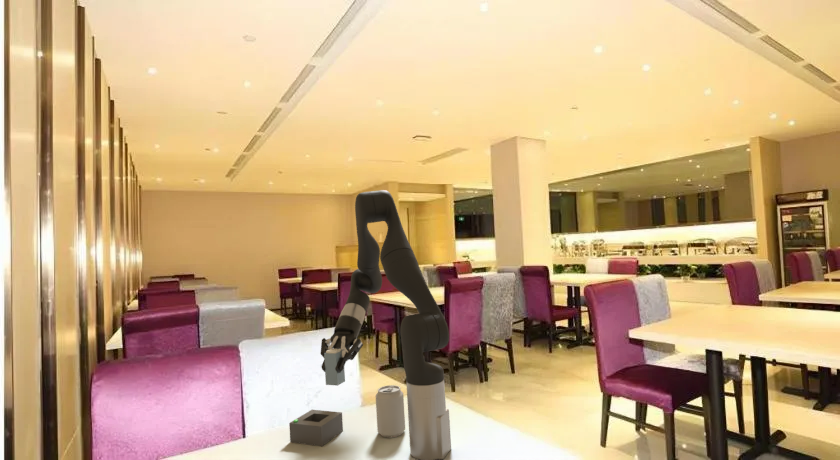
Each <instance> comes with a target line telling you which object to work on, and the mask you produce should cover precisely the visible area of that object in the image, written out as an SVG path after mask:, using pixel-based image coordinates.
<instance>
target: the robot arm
mask: <svg viewBox="0 0 840 460" xmlns="http://www.w3.org/2000/svg"><path fill="white" fill-rule="evenodd" d="M354 203H355V204H354V206H355V207H354V209H355V210H354V212H355V213H354V214H355V224H356V225H355V226H356V236H357V247H358V248H357V261H356V262H357V263H356V265H357V269H355V270H354V271H353V272H352V274H351V276H350V277H351V278H350V290H349V294H348V297H347V299H346V302H345V304H344V306H343V309H342V310H341V312H340V315H339V317H338V319H337V321H336V324H335V326H334V331H333V334H332V335H331V337H330V338H327V339H326V338H325V337H323V338H322V339H321V345H320V355H321V357H323V359H324V353H326V351H327V350H330V349H341V351H342V352H341V358H339V361H338V363H337V366H336V368H335V370H336V371H337V372H338V373H340V372H341V371H342V370H343V368H344V369H345V365H346V363H347V362H348V361H349V360H350V361H352V360H354V359H355V357H356V356H357V354H359V352H360V350H361V349H362V347H363V346H364V343H363V342H362V339H360V338H358V336H359V335H360V331H361V328H362V326H363V323H364V320H365V317H366V313H367V309H368V307H369V304H370V301H371V299H370V295H368V294H367V293H371V294H376V293H378V292H379V291H380V290H381V289H382V285H383V277H382V272H381V269H380V265H379V263H380V262H381V267H382V268H383V271H384V275H385V276H386V277H385V278H386V279H387V280H388V281H389V283H390V284H391V285H392V286H393V287H394V288H395V289H396V290H397V291H399V293H401V294H402V295H403V296H405V298H407V299H409V301H411V303H412V304H413V305H414V307H415V308H416V310H417V312H418V313H415V314H409V315H405V316H403V318H402V320H401V322H400V323H401V324H400V342H401V350H402V351H401V352H402V362H403V368H404V373H405V381H406V398H407V399H406V400H407V402H406V403H407V419H408V420H407V421H408V432H409V433H408V434H409V435H408V436H409V447H410V449H409V450H410V451H409V452H410V455H411V457H413V458H415V459H417V460H444V459H445V457H447V455H448V453H449V452H450V451H451V449H452V439H451V425H450V423H451V421H450V410H449V408H447V405H446V404H447V403H446V402H447V401H446V390H445V373H444V368H443V367H442V366H441V365H440V364H437V363H433V362H428V361H425V356H424V353H427V352H431V351H437V350H442V349H444V348H446V347H447V346H448V344H449V340H450V333H449V326H448V323H447V321H446V318H445V316H444V314H443V312H442V311H441V309H440V307H439V305H438V303H437V302H436V300H435V298H434V295H433V294H432V292H431V290H430V288H429V286H428V284H427V282H426V280H425V277H424V276H423V273H422V271H421V267H420V266H419V262H418V259H417V258H416V255H415V253H414V250H413V249H412V246H411V244H410V242H409V240H408V238H407V235H406V233H405V230H404V228H403V225H402V222H401V218H400V216H399V215H400V214H399V213H398V209H397V206H396V203H395V200H394V198H393V196H392V194H391V193H390V191H388V190H386V189H385V190H384V189H380V190H372V191H363V192H359V193H357V195H356V197H355V202H354ZM379 222H381V223H382V222H385V224H386V226H387V232H386V235H385V238H384V240H383V244H382V245H381V248H380V245H379V243H378V241H377V240H376V239H375V237H374V236H373V235H372V233H371V232H370V230H369V227H368V224H372V223H373V224H374V223H379ZM357 338H358V339H357ZM321 370H322V371H323V373H325V361H324V360H323V361H322V364H321Z"/></svg>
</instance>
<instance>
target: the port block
mask: <svg viewBox="0 0 840 460" xmlns="http://www.w3.org/2000/svg"><path fill="white" fill-rule="evenodd" d="M343 431H344V424H343V412H341V411H331V410H330V411H329V410H321V409H320V410H319V409H311V410H308V411H307V412H306V413H303V414H302V415H300V416H298V417H296V418H295V419H294V420H292V421H290V422H289V441H290V442H289V443H296V444H303V445H309V446H316V447H323V446H325V445H326V444H328V443H329V442H330V441H332V440H333V439H334V438H335V437H337V436H338V435H340V434H341V433H342V432H343Z"/></svg>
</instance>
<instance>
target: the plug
mask: <svg viewBox="0 0 840 460" xmlns="http://www.w3.org/2000/svg"><path fill="white" fill-rule="evenodd" d="M341 352H342V351H341V349H334V348H333V349H330V350H327V351H326V353H324V358H323V361H325V372H324V374H325V375H324V376H325V379H324V380H325V385H326V386H339V385H341V384H344V383H345V382H346V375H345V373H346V372H345V371H346V370H345V367H344V368H343V370H342V371H341V372H340V373H338V372H337V371H336V370H335V368H336V366H337V363H338V361H339V358H341Z"/></svg>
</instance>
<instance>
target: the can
mask: <svg viewBox="0 0 840 460" xmlns="http://www.w3.org/2000/svg"><path fill="white" fill-rule="evenodd" d="M401 389H402V388H401V387H400V386H399V385H396V384H395V385H394V384H393V385H392V384H391V385H390V384H389V385H383V386H381V387H379V388H377V392H376V394H375V409H376V426H377V427H376V428H377V429H376V430H377V433H378V434H379V435H381V436H382V437H383V438H388V439H389V438H396V437H399V436H402V434H403V433H404V431H405V430H406V416H405V402H404V392H403V391H402V390H401Z"/></svg>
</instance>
